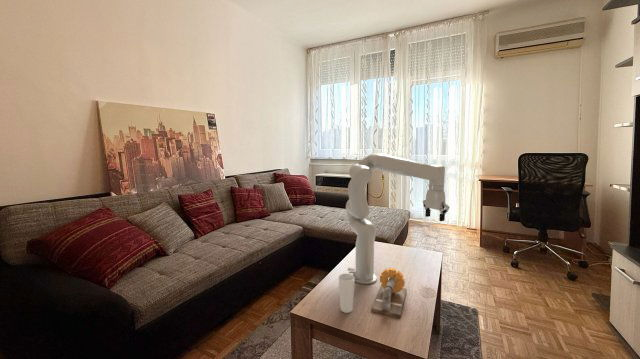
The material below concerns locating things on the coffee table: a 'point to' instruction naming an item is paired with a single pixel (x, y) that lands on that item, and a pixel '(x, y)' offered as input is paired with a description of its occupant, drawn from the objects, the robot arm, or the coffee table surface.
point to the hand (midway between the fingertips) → (434, 218)
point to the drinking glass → (346, 292)
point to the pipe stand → (389, 300)
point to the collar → (396, 275)
